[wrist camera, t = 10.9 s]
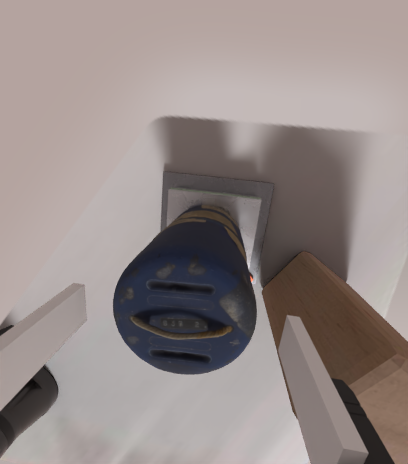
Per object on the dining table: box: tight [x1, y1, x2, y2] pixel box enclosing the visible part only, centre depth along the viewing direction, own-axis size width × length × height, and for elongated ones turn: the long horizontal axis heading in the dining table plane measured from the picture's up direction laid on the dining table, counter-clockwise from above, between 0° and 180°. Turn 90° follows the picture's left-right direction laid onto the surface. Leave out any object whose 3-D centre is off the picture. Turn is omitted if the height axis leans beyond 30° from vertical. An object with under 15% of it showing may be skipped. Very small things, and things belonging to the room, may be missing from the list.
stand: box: [161, 172, 274, 284], centre depth 32 cm, size 16×17×5 cm
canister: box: [113, 205, 257, 374], centre depth 20 cm, size 10×10×18 cm
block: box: [262, 251, 408, 464], centre depth 25 cm, size 10×10×20 cm
